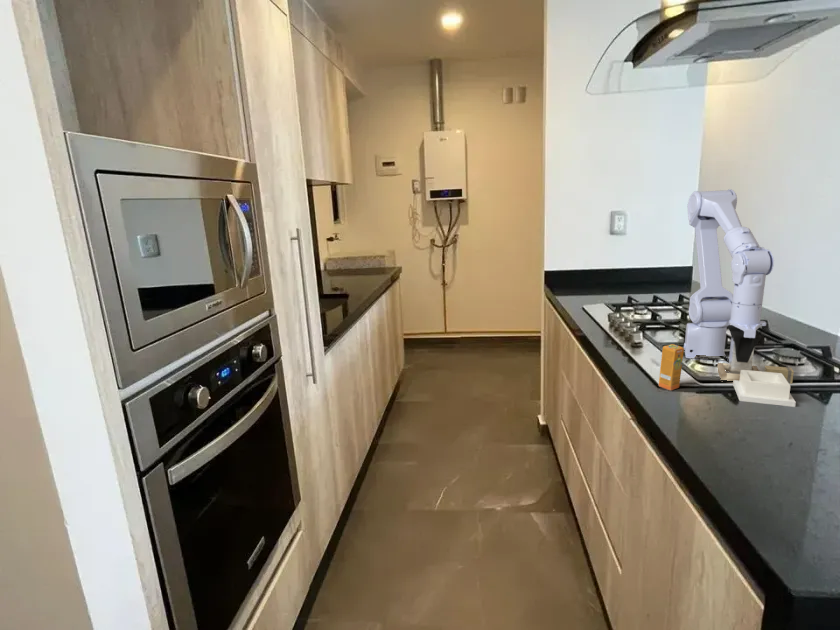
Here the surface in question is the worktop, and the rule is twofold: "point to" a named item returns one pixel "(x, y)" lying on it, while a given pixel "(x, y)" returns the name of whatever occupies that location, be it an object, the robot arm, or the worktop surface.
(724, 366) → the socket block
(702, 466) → the worktop surface
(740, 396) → the white square socket
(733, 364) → the steel peg
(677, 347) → the supplement box
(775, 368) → the tan rectangular block
